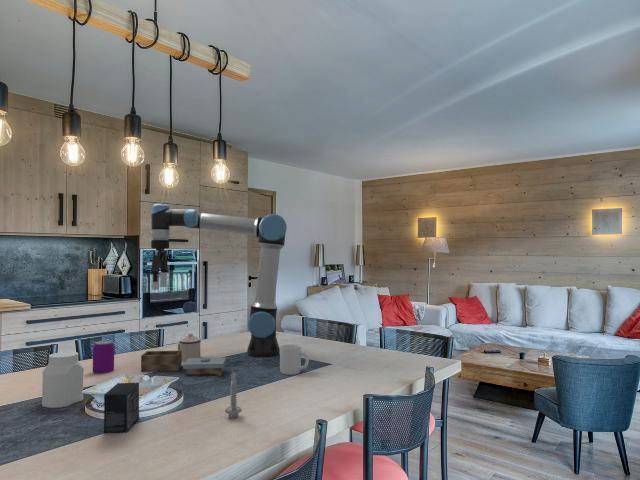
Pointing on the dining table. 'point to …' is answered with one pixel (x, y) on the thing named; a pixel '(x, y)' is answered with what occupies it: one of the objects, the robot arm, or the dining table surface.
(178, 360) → the walnut box
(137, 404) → the small box
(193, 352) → the teacup with lid
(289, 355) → the mug
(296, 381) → the dining table surface
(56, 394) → the jar
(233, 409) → the screw
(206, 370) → the block
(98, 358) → the beverage can
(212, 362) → the lid
